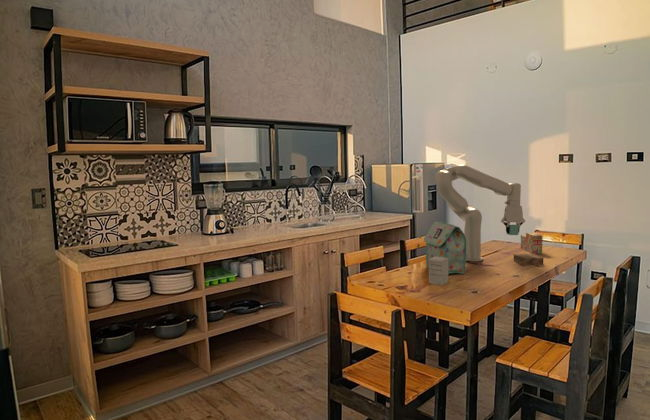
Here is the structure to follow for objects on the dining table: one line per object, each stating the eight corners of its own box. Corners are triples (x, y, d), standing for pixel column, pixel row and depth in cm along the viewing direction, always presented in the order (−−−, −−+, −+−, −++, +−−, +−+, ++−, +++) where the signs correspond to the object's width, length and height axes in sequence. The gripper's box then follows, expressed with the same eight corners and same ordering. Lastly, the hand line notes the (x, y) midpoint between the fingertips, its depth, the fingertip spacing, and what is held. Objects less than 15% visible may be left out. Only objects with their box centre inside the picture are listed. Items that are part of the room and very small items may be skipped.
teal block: (510, 235, 277) (510, 225, 277) (506, 233, 282) (507, 224, 282) (518, 235, 277) (518, 225, 277) (514, 233, 282) (515, 224, 282)
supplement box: (435, 280, 234) (435, 256, 232) (448, 282, 229) (448, 257, 228) (428, 283, 228) (428, 258, 227) (442, 285, 223) (442, 260, 222)
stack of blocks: (520, 248, 313) (520, 230, 312) (529, 248, 312) (530, 230, 311) (532, 254, 292) (532, 235, 290) (542, 254, 291) (542, 235, 290)
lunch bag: (422, 267, 263) (421, 221, 261) (447, 265, 267) (447, 219, 265) (441, 276, 241) (441, 226, 239) (469, 274, 245) (469, 224, 243)
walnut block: (522, 265, 261) (522, 258, 261) (513, 261, 273) (513, 254, 273) (543, 264, 261) (543, 257, 261) (533, 260, 273) (533, 253, 273)
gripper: (501, 204, 274) (501, 234, 276) (530, 203, 274) (529, 233, 276) (497, 203, 282) (496, 232, 283) (524, 202, 282) (523, 232, 283)
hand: (512, 232), depth 280 cm, fingers closed on teal block, 5 cm apart
